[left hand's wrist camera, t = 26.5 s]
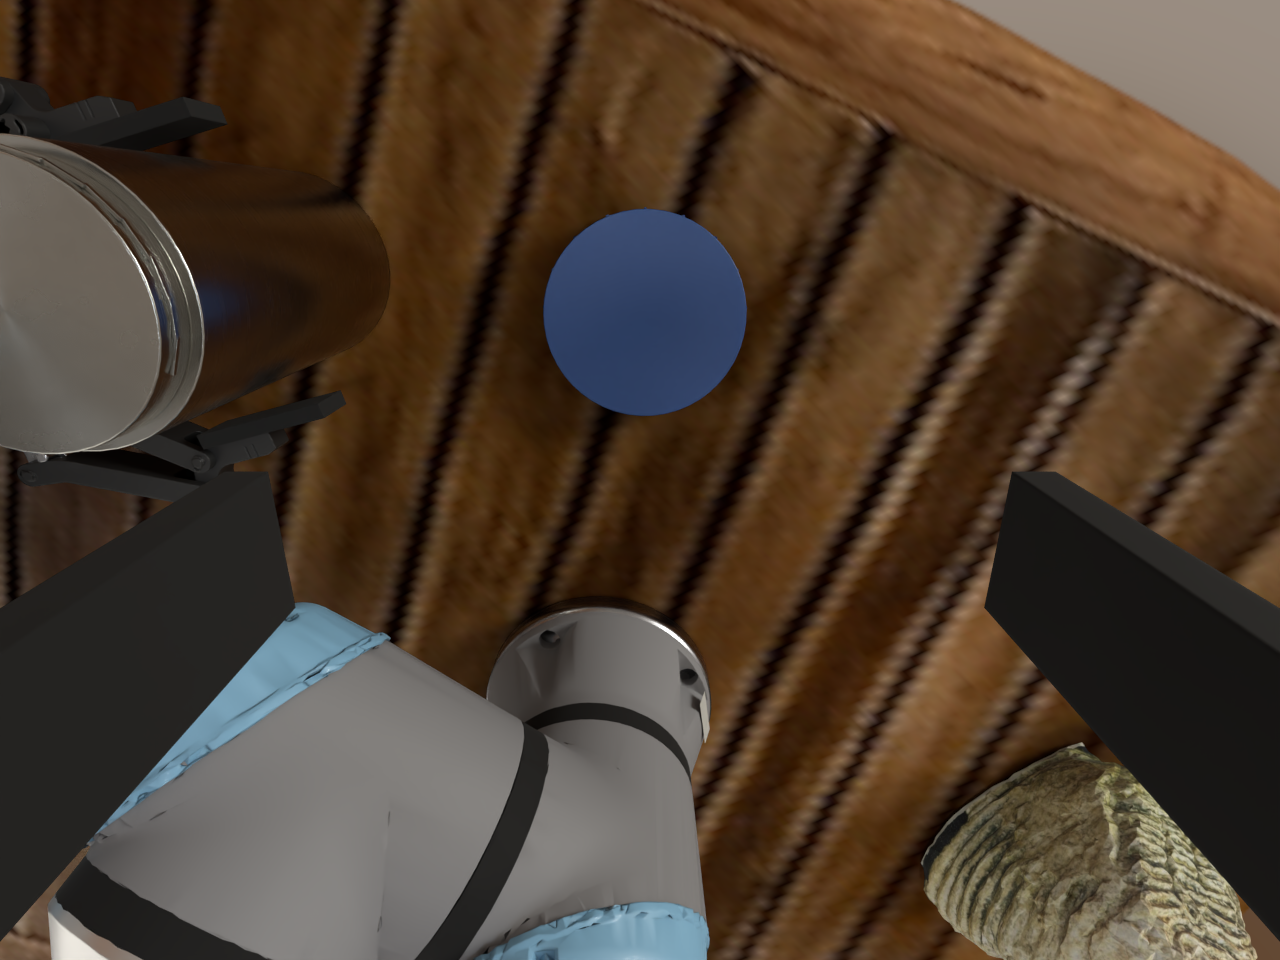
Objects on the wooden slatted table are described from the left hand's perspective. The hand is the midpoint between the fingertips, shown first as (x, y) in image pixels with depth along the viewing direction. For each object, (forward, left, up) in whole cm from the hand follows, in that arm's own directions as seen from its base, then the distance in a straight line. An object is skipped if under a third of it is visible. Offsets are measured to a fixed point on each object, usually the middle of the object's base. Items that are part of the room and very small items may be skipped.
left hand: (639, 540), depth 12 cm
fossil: (-26, -39, -29) cm, 55 cm away
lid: (0, 0, -28) cm, 28 cm away
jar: (-3, +19, -29) cm, 35 cm away
